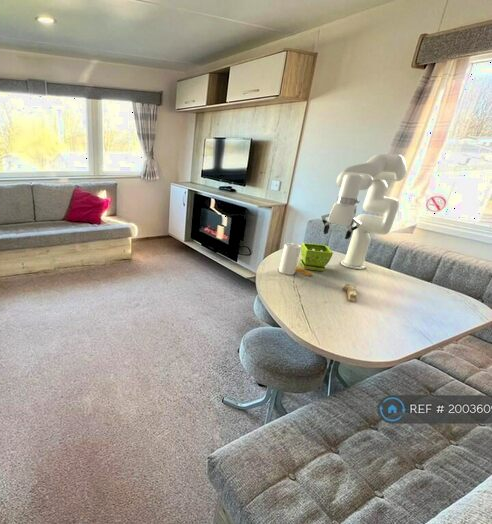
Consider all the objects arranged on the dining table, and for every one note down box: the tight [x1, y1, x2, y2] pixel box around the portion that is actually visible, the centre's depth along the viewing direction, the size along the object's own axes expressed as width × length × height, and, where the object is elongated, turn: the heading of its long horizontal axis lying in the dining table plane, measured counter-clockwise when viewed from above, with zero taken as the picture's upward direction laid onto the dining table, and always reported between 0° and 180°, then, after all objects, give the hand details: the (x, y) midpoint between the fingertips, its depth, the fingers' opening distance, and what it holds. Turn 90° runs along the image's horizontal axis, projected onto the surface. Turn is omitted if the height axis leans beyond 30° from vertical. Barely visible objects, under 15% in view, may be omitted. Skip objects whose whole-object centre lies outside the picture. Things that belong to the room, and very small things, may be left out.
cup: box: [278, 242, 302, 276], centre depth 173 cm, size 8×8×16 cm
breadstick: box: [295, 265, 313, 277], centre depth 176 cm, size 10×2×2 cm, turn 32°
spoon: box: [343, 283, 358, 303], centre depth 152 cm, size 16×5×4 cm, turn 152°
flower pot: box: [299, 242, 333, 272], centre depth 182 cm, size 14×14×13 cm
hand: (335, 236), depth 152 cm, fingers open, 9 cm apart
